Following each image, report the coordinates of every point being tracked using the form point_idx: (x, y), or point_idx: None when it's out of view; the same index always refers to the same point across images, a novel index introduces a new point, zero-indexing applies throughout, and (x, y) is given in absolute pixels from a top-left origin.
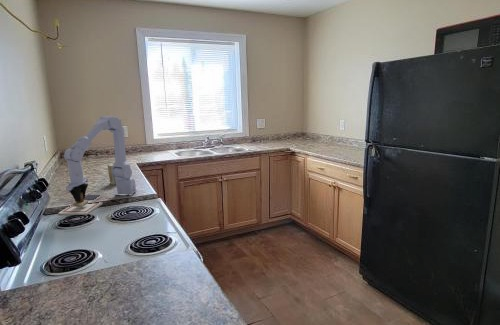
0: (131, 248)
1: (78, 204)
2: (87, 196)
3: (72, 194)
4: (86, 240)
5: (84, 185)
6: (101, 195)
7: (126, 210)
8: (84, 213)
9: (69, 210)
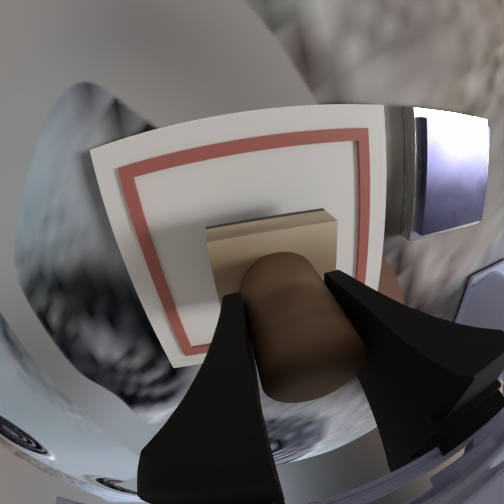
0: (98, 478)
1: (220, 306)
2: (470, 145)
3: (200, 383)
4: (50, 435)
5: (394, 467)
6: (478, 222)
7: (275, 435)
8: (168, 354)
9: (169, 205)
